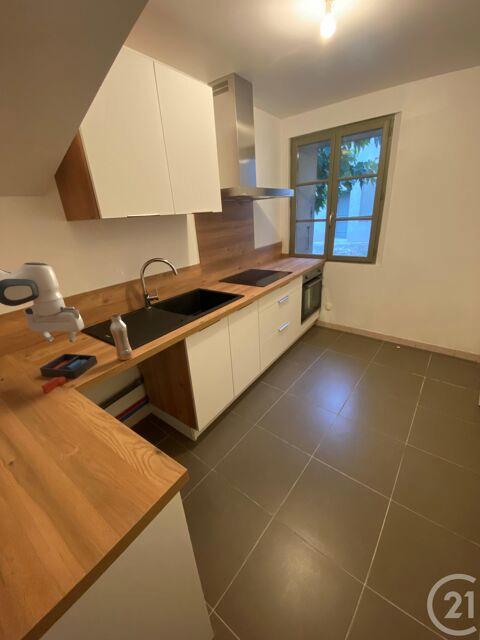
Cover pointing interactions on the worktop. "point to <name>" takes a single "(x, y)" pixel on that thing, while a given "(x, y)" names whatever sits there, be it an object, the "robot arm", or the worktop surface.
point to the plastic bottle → (120, 338)
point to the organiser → (61, 363)
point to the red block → (53, 384)
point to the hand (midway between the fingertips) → (61, 341)
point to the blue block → (76, 364)
